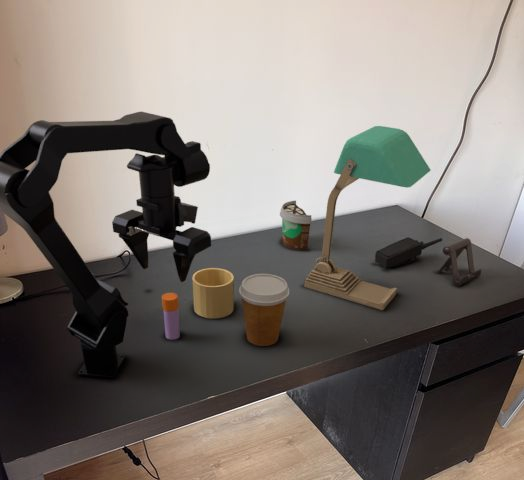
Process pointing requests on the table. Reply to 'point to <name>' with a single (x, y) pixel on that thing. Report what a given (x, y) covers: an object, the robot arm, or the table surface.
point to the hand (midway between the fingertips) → (163, 274)
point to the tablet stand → (454, 252)
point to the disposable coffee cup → (263, 307)
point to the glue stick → (171, 315)
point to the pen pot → (213, 292)
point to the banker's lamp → (374, 169)
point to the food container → (295, 226)
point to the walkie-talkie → (401, 252)
